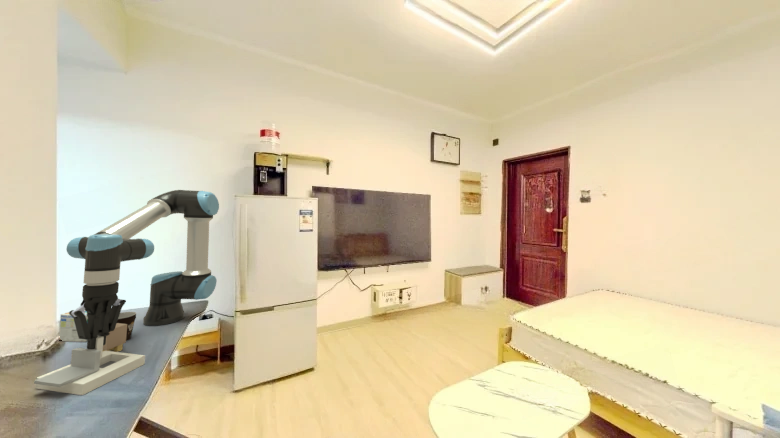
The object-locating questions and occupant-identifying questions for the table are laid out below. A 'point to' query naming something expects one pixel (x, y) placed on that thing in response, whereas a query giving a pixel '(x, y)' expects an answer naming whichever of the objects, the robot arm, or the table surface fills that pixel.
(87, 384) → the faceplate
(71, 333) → the light bulb box
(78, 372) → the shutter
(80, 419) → the table surface
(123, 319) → the coffee mug
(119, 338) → the plug
